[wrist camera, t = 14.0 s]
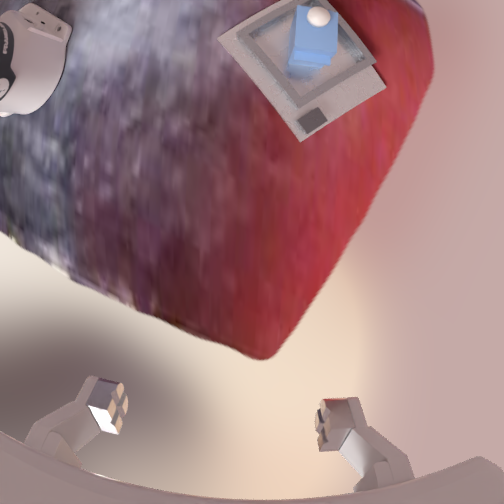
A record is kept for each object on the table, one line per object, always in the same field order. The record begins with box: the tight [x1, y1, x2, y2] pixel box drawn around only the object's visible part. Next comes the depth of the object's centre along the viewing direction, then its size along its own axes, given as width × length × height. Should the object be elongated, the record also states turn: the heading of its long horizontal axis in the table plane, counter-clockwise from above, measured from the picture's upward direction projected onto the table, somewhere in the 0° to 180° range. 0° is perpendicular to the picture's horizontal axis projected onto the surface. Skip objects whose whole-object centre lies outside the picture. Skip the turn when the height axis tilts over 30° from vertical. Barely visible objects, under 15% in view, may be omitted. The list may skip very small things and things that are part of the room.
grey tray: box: [217, 0, 386, 142], centre depth 30 cm, size 17×14×3 cm
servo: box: [288, 5, 338, 68], centre depth 26 cm, size 7×4×8 cm, turn 176°
